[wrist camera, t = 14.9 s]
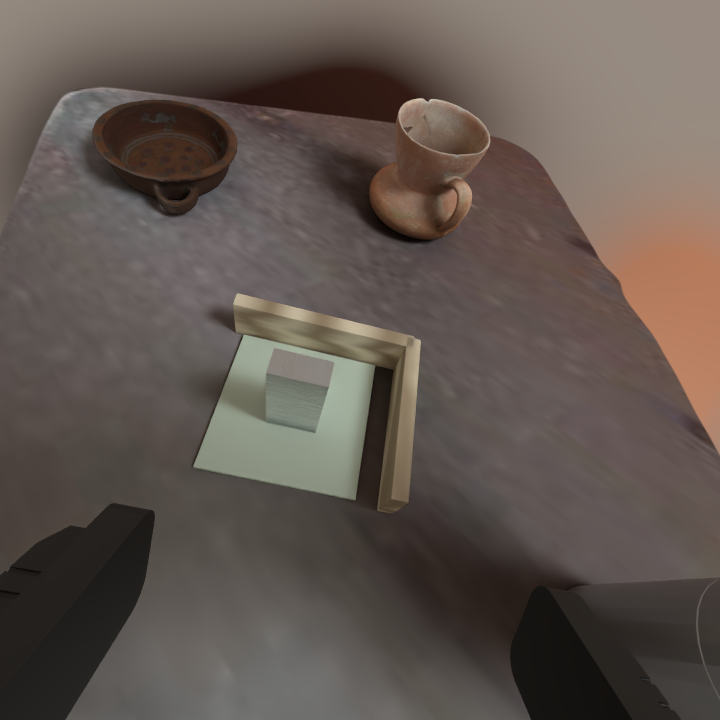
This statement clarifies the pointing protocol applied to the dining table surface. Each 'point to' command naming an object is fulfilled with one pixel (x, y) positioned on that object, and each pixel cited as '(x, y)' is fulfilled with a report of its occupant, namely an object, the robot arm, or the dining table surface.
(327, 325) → the corner
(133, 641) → the dining table surface
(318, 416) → the rectangular block
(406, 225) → the ceramic jug
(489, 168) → the dining table surface
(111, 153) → the dish
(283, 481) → the mat
